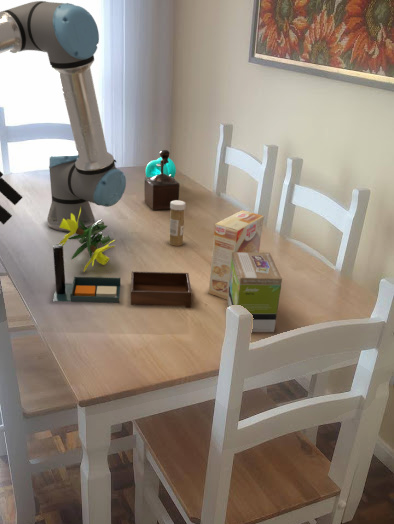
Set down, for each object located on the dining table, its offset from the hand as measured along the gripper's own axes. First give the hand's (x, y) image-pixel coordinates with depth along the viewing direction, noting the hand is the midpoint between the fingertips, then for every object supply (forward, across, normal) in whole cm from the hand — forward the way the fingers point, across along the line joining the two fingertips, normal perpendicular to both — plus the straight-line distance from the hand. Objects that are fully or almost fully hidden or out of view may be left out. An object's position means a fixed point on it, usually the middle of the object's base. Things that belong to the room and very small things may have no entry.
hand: (13, 210), depth 135 cm
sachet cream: (+30, 0, 0) cm, 30 cm away
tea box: (+56, +11, +25) cm, 62 cm away
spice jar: (+44, -37, +14) cm, 60 cm away
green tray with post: (+27, 0, -4) cm, 27 cm away
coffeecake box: (+54, -6, +24) cm, 60 cm away
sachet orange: (+26, 0, -4) cm, 27 cm away
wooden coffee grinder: (+42, -77, +11) cm, 88 cm away
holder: (+40, 0, +10) cm, 41 cm away
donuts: (+42, -103, +12) cm, 112 cm away
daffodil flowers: (+26, -24, -5) cm, 36 cm away
